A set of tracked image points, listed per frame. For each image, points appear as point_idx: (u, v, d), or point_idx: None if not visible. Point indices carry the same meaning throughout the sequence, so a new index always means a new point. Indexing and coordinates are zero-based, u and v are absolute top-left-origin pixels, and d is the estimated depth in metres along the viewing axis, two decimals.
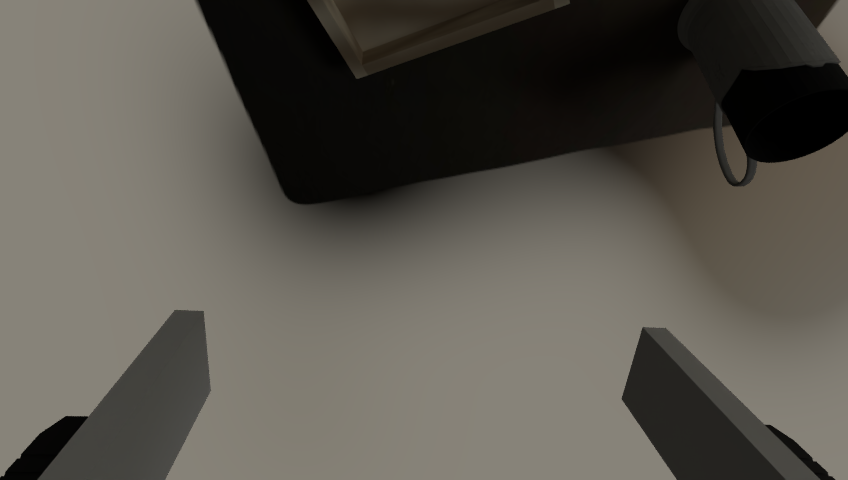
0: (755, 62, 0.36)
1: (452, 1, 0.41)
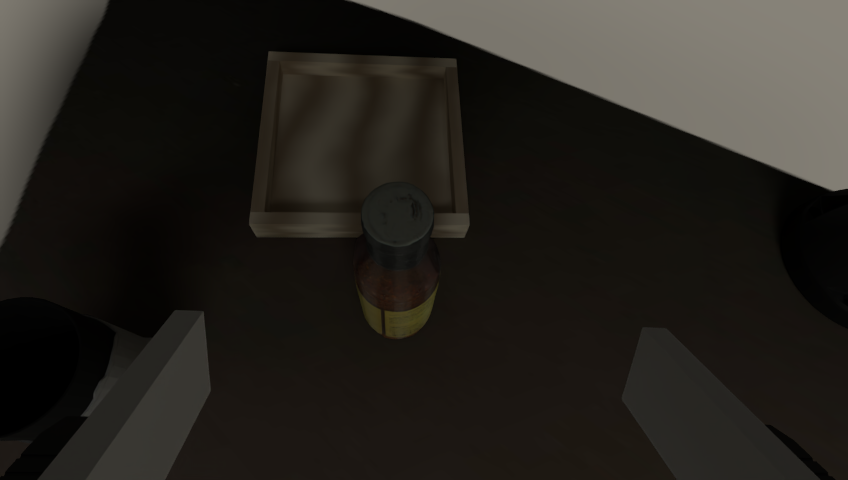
0: (122, 342, 0.31)
1: (291, 148, 0.48)
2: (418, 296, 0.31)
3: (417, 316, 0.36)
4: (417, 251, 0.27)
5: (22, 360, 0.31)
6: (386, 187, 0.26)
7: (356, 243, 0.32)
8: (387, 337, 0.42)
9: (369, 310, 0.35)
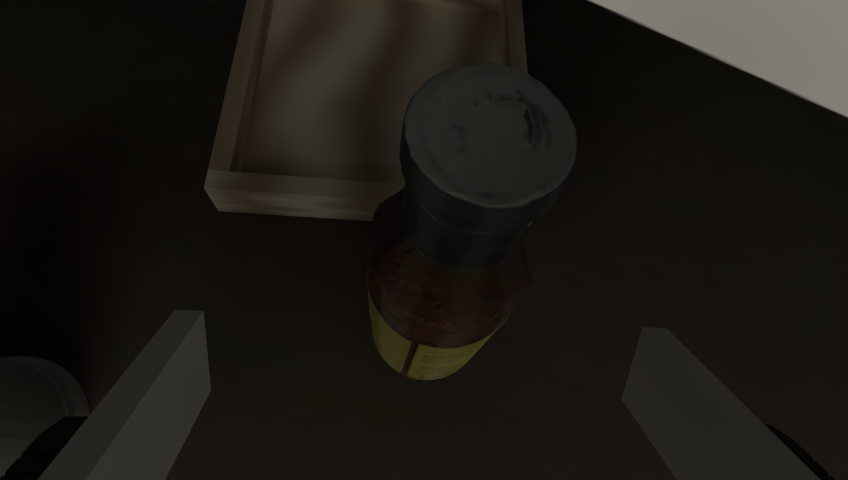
0: None
1: (279, 88, 0.33)
2: (490, 323, 0.16)
3: (470, 353, 0.21)
4: (520, 229, 0.12)
5: None
6: (464, 72, 0.11)
7: (376, 215, 0.17)
8: (408, 377, 0.27)
9: (388, 339, 0.20)
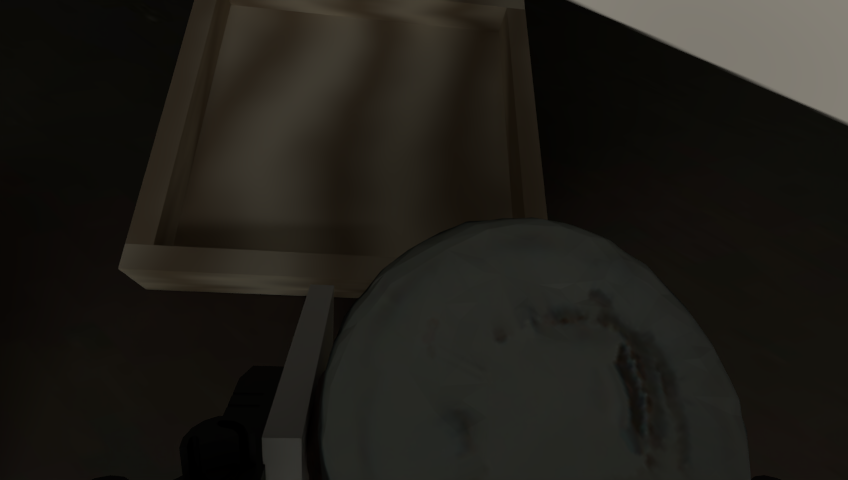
0: None
1: (229, 128, 0.27)
2: None
3: None
4: None
5: None
6: (471, 247, 0.05)
7: (320, 388, 0.10)
8: None
9: None
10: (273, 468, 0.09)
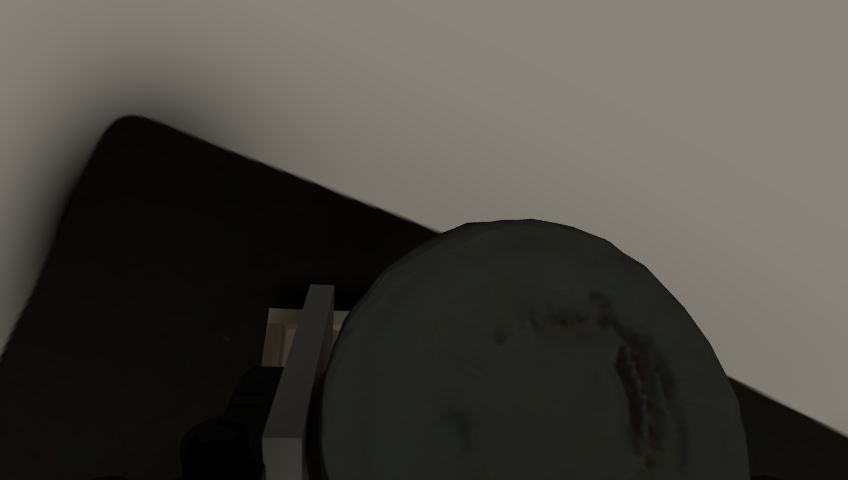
0: None
1: None
2: None
3: None
4: None
5: None
6: (471, 249, 0.05)
7: (320, 389, 0.10)
8: None
9: None
10: (273, 468, 0.09)
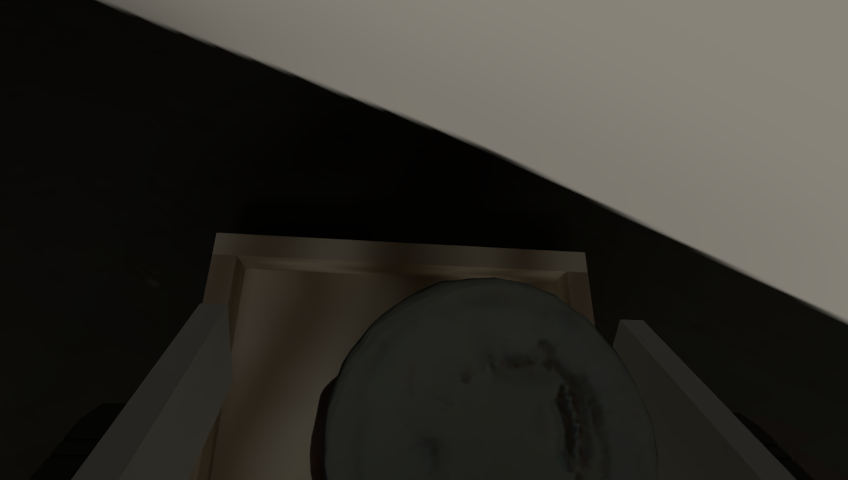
0: None
1: (246, 458, 0.23)
2: None
3: None
4: None
5: None
6: (445, 304, 0.06)
7: (322, 402, 0.11)
8: None
9: None
10: None
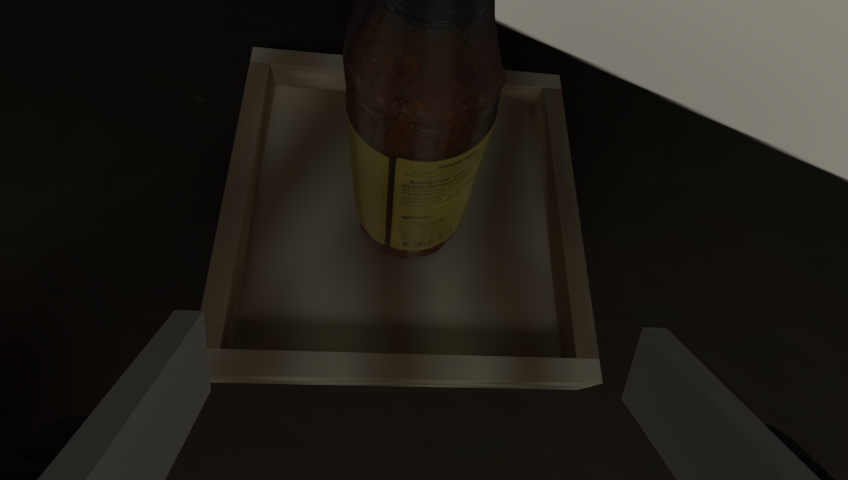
0: None
1: (280, 215, 0.28)
2: (464, 115, 0.16)
3: (449, 193, 0.21)
4: None
5: None
6: None
7: (351, 14, 0.17)
8: (392, 253, 0.27)
9: (367, 176, 0.20)
10: None
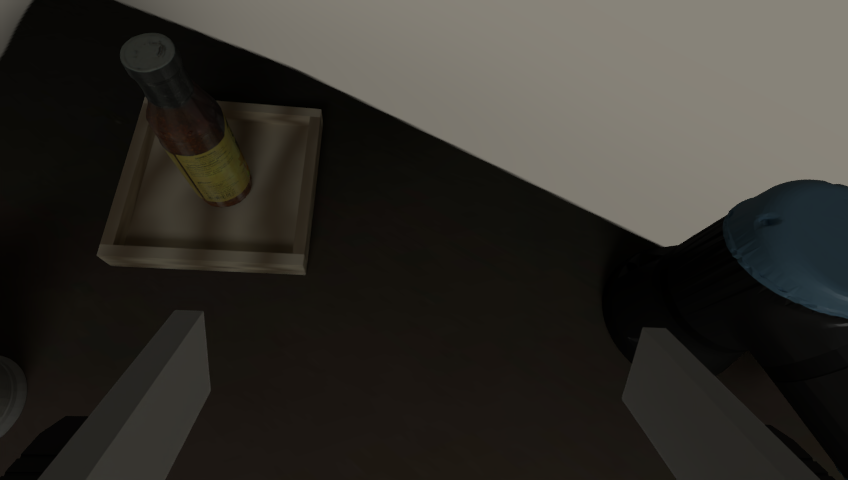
0: None
1: (155, 185, 0.53)
2: (191, 138, 0.41)
3: (213, 171, 0.46)
4: (170, 87, 0.37)
5: None
6: (144, 35, 0.36)
7: None
8: (210, 204, 0.52)
9: (174, 162, 0.45)
10: None
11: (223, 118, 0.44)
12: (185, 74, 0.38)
